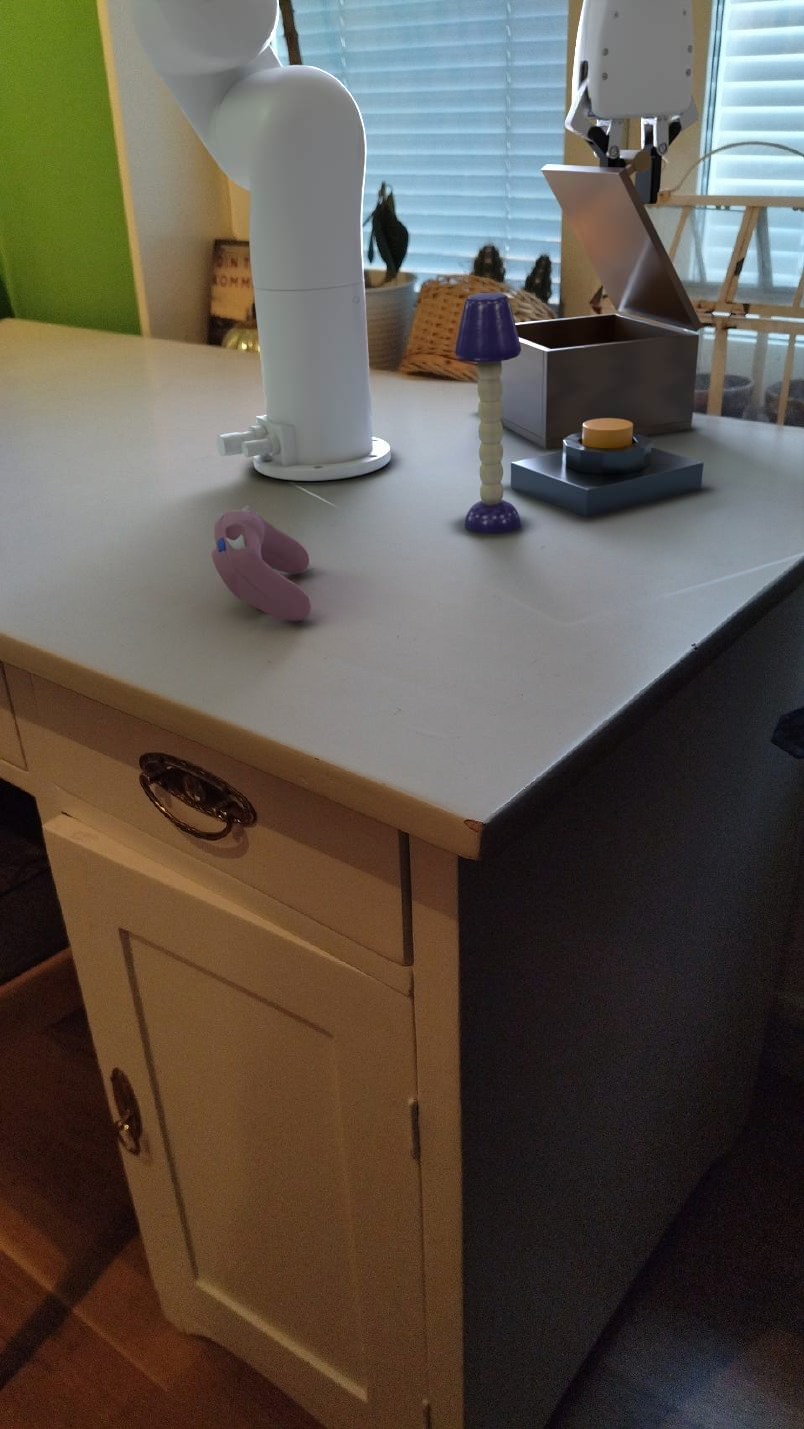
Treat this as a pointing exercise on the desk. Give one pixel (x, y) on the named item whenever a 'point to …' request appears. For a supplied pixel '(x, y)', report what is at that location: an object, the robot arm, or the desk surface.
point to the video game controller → (260, 564)
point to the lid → (622, 239)
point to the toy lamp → (489, 401)
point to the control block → (605, 476)
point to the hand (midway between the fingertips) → (628, 202)
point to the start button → (607, 433)
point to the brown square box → (598, 376)
